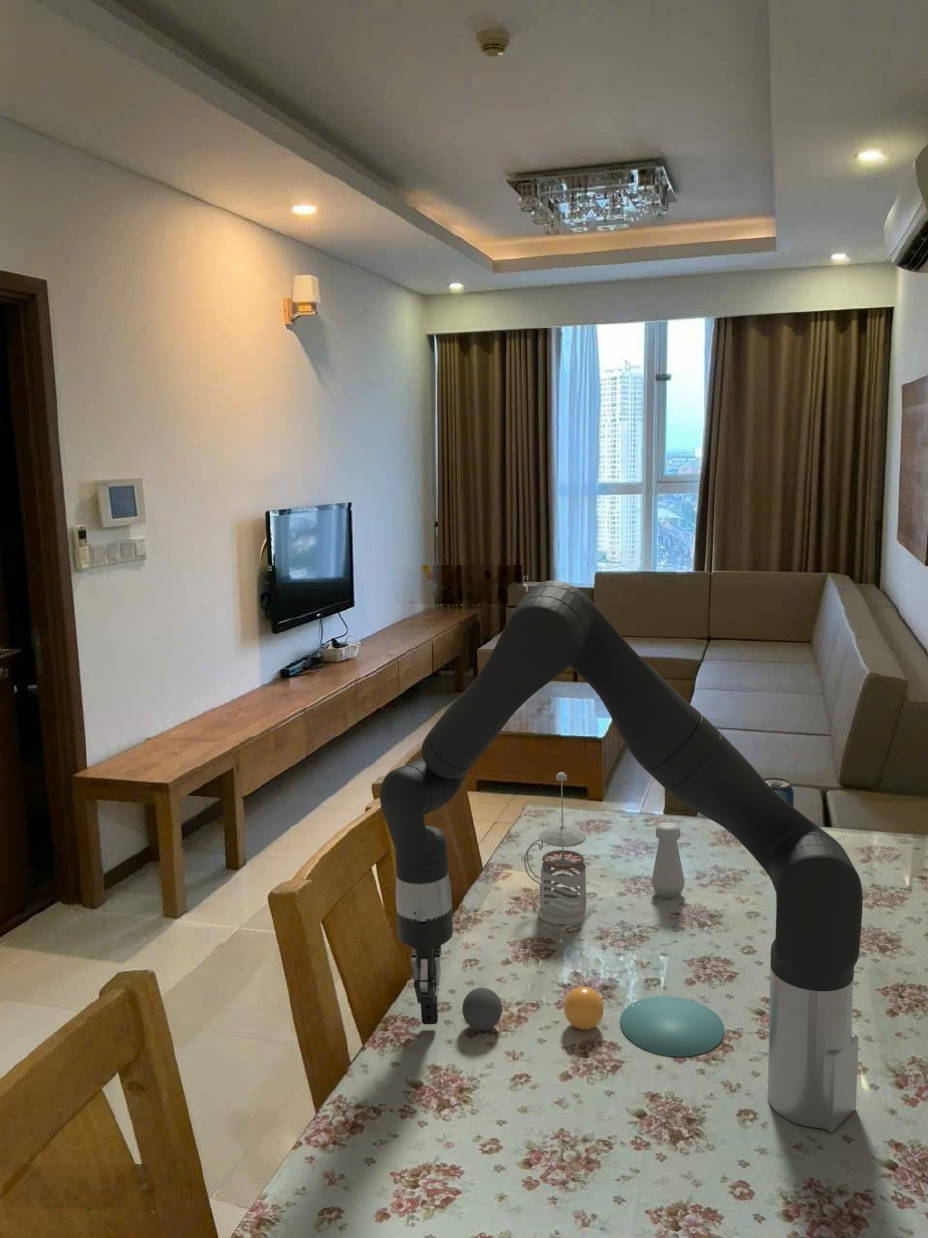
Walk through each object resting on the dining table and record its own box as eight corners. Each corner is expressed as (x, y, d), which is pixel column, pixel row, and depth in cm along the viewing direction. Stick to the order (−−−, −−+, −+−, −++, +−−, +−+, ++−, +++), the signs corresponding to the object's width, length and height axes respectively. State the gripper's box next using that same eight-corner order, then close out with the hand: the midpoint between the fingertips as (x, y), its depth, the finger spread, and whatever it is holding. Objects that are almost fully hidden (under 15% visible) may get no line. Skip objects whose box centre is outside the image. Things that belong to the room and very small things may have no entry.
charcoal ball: (510, 1027, 134) (509, 990, 133) (482, 1044, 130) (481, 1006, 129) (483, 1011, 138) (482, 975, 137) (454, 1027, 134) (453, 991, 133)
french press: (586, 927, 161) (584, 784, 157) (518, 919, 165) (515, 779, 161) (597, 901, 170) (595, 765, 166) (533, 894, 174) (530, 761, 170)
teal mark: (744, 1025, 132) (744, 1023, 132) (685, 1070, 123) (685, 1069, 123) (659, 986, 142) (659, 985, 142) (599, 1026, 133) (599, 1025, 133)
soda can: (787, 848, 190) (788, 790, 188) (752, 841, 194) (753, 784, 192) (796, 836, 196) (798, 779, 194) (762, 830, 199) (763, 774, 197)
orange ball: (612, 1026, 133) (611, 989, 132) (586, 1043, 129) (585, 1005, 128) (581, 1010, 137) (581, 974, 136) (555, 1026, 133) (555, 990, 132)
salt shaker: (661, 884, 176) (661, 816, 174) (690, 892, 173) (690, 823, 170) (645, 896, 172) (645, 826, 170) (675, 904, 168) (675, 833, 166)
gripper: (401, 884, 138) (407, 996, 140) (391, 928, 124) (398, 1051, 127) (453, 882, 137) (459, 995, 140) (449, 927, 124) (455, 1050, 127)
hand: (430, 1021), depth 134 cm, fingers closed
